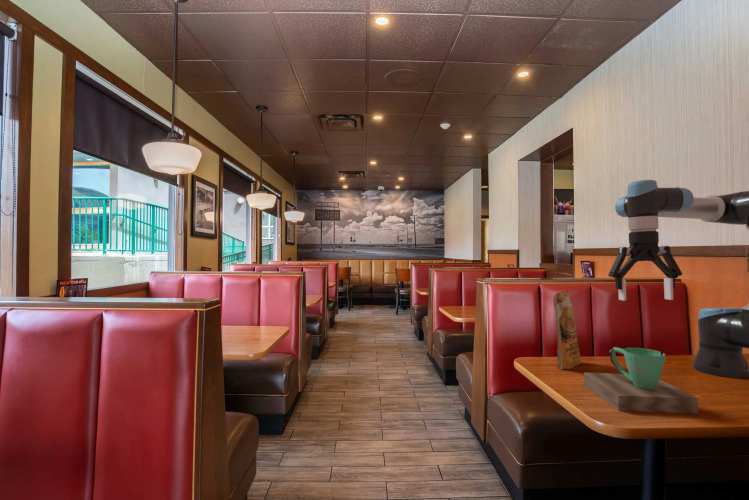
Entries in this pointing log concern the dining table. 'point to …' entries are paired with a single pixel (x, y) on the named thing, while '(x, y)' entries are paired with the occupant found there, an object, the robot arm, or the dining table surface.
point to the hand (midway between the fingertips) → (645, 299)
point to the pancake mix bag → (566, 332)
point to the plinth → (640, 395)
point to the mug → (640, 366)
